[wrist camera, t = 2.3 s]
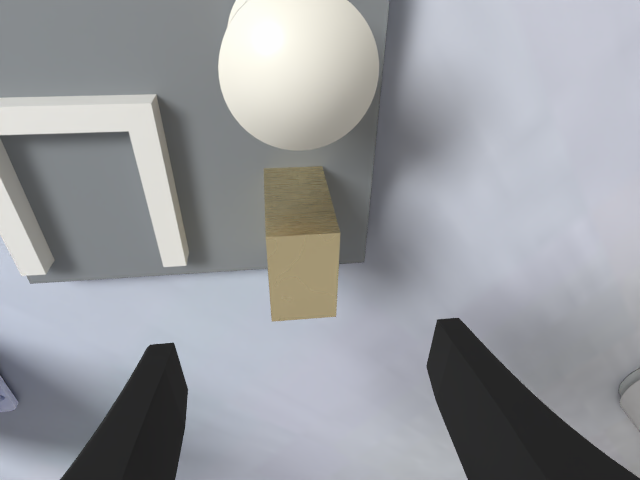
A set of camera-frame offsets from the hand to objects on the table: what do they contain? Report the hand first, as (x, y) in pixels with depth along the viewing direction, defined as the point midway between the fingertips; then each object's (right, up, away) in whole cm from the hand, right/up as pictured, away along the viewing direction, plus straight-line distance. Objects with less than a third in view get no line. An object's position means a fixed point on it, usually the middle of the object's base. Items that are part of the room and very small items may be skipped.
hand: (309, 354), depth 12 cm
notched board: (-6, +8, +7) cm, 12 cm away
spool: (-1, +10, +3) cm, 11 cm away
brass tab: (-1, +5, +8) cm, 9 cm away
